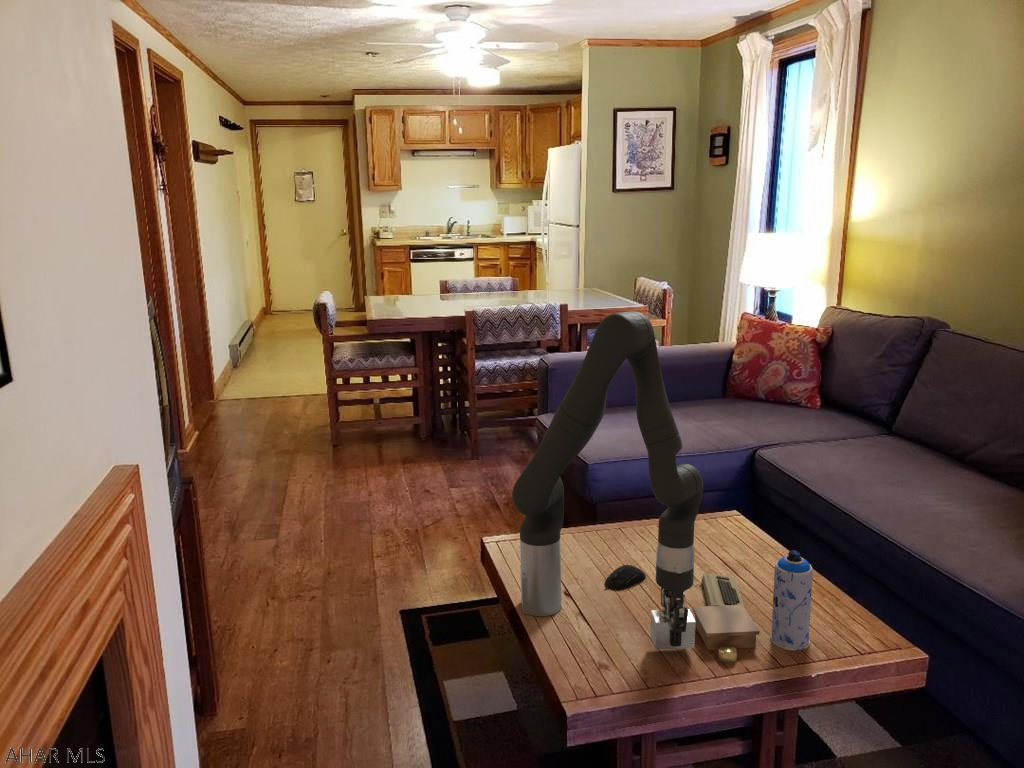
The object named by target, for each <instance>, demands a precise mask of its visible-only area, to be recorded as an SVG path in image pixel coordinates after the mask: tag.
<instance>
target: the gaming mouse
mask: <svg viewBox="0 0 1024 768" xmlns="http://www.w3.org/2000/svg"><path fill="white" fill-rule="evenodd" d="M646 578H647V575H646V573H645V572H644V571H643V570H641V569H640V568H638V567H637V566H634V565H631V564H625V565H621V566H619V567H617V568H616V569H614V570H613V571H612V572H611V573H610V574H609V575H608V576H607V578H606V579H605V581H604V586H605V587H606V588H604V589H603V592H606V591H608V590H613V591H622V590H626V589H628V588H630V587H632V586H636V585H637V584H638V585H639V584H640V583H642V582H644V581H645V580H646Z"/></svg>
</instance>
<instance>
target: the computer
mask: <svg viewBox="0 0 1024 768" xmlns="http://www.w3.org/2000/svg"><path fill="white" fill-rule="evenodd" d="M701 586H702V587H703V594H704V597H705V601H706V604H707V606H725V605H743V607H744V608H745V607H746V606H745V605H744V601H743V599H742V598H743V597H742V596H741V591H740V589H739V587H738V585H737V581H736V577H734V576H729V575H721V574H716V573H703V574H702V577H701ZM745 610H746V611H747V609H746V608H745Z"/></svg>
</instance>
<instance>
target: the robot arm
mask: <svg viewBox="0 0 1024 768" xmlns="http://www.w3.org/2000/svg"><path fill="white" fill-rule="evenodd" d="M654 331H655V330H654V327H653V325H652V322H651V321H650V319H649V317H647V316H646V315H645V314H643V313H641V312H639V311H622V312H621V311H619V312H614V313H611V314H609V315H607V316H605V317H603V319H602V320H601V321H600V322H599V324H598V326H597V328H596V330H595V332H594V335H593V337H592V339H591V342H590V344H589V347H588V350H587V352H586V353H585V357H584V359H583V362H582V364H581V365H580V368H579V370H578V371H577V373H576V375H575V377H574V379H572V382H571V384H570V386H569V387H568V390H567V391H566V394H565V395H564V397H563V399H562V400H561V402H560V404H559V406H558V407H557V409H556V411H555V413H554V415H553V417H552V419H551V422H550V423H549V425H548V427H547V429H546V430H545V433H544V435H543V437H542V439H541V441H540V443H539V445H538V448H537V449H536V451H535V453H534V455H533V457H532V458H531V459H530V461H529V463H528V464H527V465H526V467H525V468H524V469H523V471H522V473H521V474H520V475H519V477H518V478H517V480H516V481H515V482H514V485H513V487H512V494H511V496H512V502H513V505H514V507H515V509H516V510H517V511H518V512H519V513H520V514H522V515H524V516H525V517H524V520H523V521H522V523H521V525H520V527H519V549H520V550H519V551H520V552H519V553H520V565H519V568H520V573H519V574H520V598H521V599H520V601H521V611H522V614H523V615H530V616H535V617H548V616H552V615H555V614H557V613H559V612H560V611H561V609H562V599H563V598H562V561H561V560H562V558H561V557H562V556H561V550H562V549H561V548H562V547H561V530H562V527H563V524H564V511H565V509H564V508H565V490H564V489H565V488H564V483H563V480H562V478H561V476H562V474H563V472H564V471H565V470H566V469H567V468H568V467H569V465H570V464H571V463H572V462H573V461H574V460H575V458H577V456H578V455H579V454H580V453H581V452H582V451H583V449H584V448H585V447H586V446H587V444H589V443H590V440H591V439H592V437H593V436H594V434H595V432H596V431H597V429H598V427H599V425H600V424H601V422H602V420H603V417H604V415H605V412H606V406H607V398H608V392H609V391H608V390H609V388H610V384H611V382H612V381H613V378H614V377H615V375H616V374H617V372H618V370H619V369H620V367H621V366H622V365H623V363H624V362H625V361H626V360H627V362H628V365H629V367H630V370H631V372H632V375H633V380H634V386H635V403H636V405H635V407H636V408H635V410H636V411H635V412H636V418H637V419H636V420H637V423H638V428H639V431H640V433H641V434H640V435H641V437H642V439H643V442H644V445H645V448H646V451H647V457H648V458H647V460H648V464H647V465H648V475H649V482H650V488H651V490H652V493H653V495H654V497H655V499H656V500H657V501H658V502H659V503H661V505H663V506H664V507H667V508H666V509H665V510H664V511H663V513H661V515H660V516H659V519H658V525H657V527H658V531H657V533H658V534H657V545H656V552H655V553H656V555H655V556H656V557H655V583H656V584H657V586H658V587H660V606H661V607H662V610H667V617H668V618H670V645H671V646H672V647H674V646H681V640H682V632H686V625H687V617H688V607H686V606H685V604H686V603H687V601H686V599H687V598H686V594H684V592H685V591H687V590H690V589H691V588H692V587H693V586H694V579H695V578H694V577H695V576H694V575H695V574H694V573H695V545H694V543H695V542H694V541H695V540H694V539H695V521H696V520H697V519H696V518H697V515H698V513H699V509H700V506H701V501H702V498H703V491H704V482H703V478H702V475H701V473H700V471H699V469H698V468H696V467H695V466H694V465H692V464H689V463H683V464H678V465H677V458H676V457H677V455H678V454H679V453H680V451H681V450H682V449H683V442H682V438H681V435H680V431H679V429H678V426H677V424H676V420H675V418H674V415H673V412H672V409H671V406H670V402H669V399H668V395H667V392H666V388H665V382H664V378H663V373H662V367H661V363H660V358H659V352H658V346H657V340H656V335H655V332H654ZM671 612H674V614H671Z"/></svg>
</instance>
